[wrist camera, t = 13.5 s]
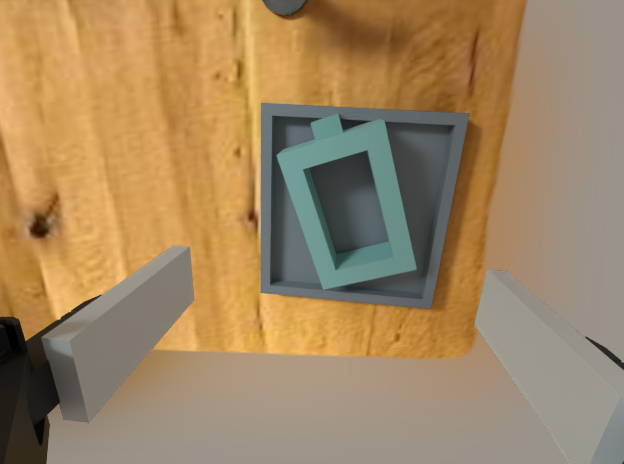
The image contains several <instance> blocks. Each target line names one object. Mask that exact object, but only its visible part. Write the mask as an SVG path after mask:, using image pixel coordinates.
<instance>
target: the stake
mask: <svg viewBox="0 0 624 464" xmlns="http://www.w3.org/2000/svg"><path fill="white" fill-rule="evenodd" d="M262 1H263V2H264V4H265V5H266V7H267V8H268V9H269V10H270V11H271V12H273V13H275V14H277V15H280V16H288V15H292V14H294V13H296V12H298V11H299V10H300V9H301V8H302V7H303V6H304V4H305V3H306V1H307V0H262Z"/></svg>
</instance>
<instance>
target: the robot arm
mask: <svg viewBox="0 0 624 464" xmlns="http://www.w3.org/2000/svg"><path fill="white" fill-rule="evenodd" d="M193 301H194V291H193V279H192V267H191V255H190V247H188V246H175V245H173V246H172V247H171V248H169V249H168V250H166V251H165V252H163V253H162V254H160V255H159V256H158V257H156V258H155V259H153V260H152V261H150V262H149V263H148V264H146V265H145V266H143V267H142V268H140V269H139V270H137V271H136V272H135V273H133V274H132V275H130V276H129V277H127V278H126V279H125V280H123V281H122V282H120V283H119V284H117V285H116V286H114V287H113V288H112V289H110V290H109V291H107V292H106V293H104V294H103V295H99V296H97V297H94V298H92V299H90V300H87V301H85V302H83V303H82V304H80V305H79V306H77V307H76V308H74V309H73V310H71V312H68V313H67V314H65V315H64V316H62V317H61V319H60V320H56V321H55V322H54V323H52V324H51V325H49V326H48V327H46V328H45V329H43V330H42V331H40V332H39V333H37V334H36V335H34V336H33V337H31V338H30V339H28V340H27V341H25V338H24V335H23V332H22V328H21V325H20V321H19V319H17V318H14V317H0V464H46V462H47V450H48V438H49V428H50V424H49V420H48V417H47V414H48V413H49V412H51V410H53V409H54V408H55V407H56V406H57V405H58V404H59V405H60V409H61V412H62V416H63V419H64V420H71V421H80V422H88V423H89V422H90V421H91V420H92V419H93V418H94V416H95V415H96V414H97V413H98V412H99V411H100V409H101V408H102V407H103V406H104V405H105V403H106V402H107V401H108V400H109V399H110V398H111V397H112V395H113V394H114V393H115V392H116V391H117V390H118V388H119V387H120V386H121V385H122V384H123V382H124V381H125V380H126V379H127V378H128V377H129V376H130V374H131V373H132V372H133V371H134V370H135V369H136V367H137V366H138V365H139V364H140V363H141V362H142V360H143V359H144V358H145V357H146V355H147V354H148V353H149V352H150V351H151V350H152V349H153V348H154V346H155V345H156V344H157V343H158V342H159V340H160V339H161V338H162V337H163V336H164V335H165V333H166V332H167V331H168V330H169V329H170V328H171V326H172V325H173V324H174V323H175V322H176V321H177V319H178V318H179V317H180V316H181V315H182V314H183V312H184V311H185V310H186V309H187V308H188V307H189V305H190V304H191V303H192V302H193ZM474 325H475V326H476V328H477V329H478V331H479V332H480V334H481V335H482V337H483V338H484V340H485V341H486V342H487V344H488V345H489V347H490V348H491V350H492V351H493V353H494V354H495V356H496V357H497V358H498V360H499V361H500V363H501V364H502V365H503V367H504V369H505V370H506V372H507V373H508V374H509V375H510V377H511V379H512V380H513V382H514V383H515V384H516V386H517V388H518V389H519V390H520V392H521V393H522V395H523V396H524V397H525V399H526V401H527V402H528V403H529V405H530V406H531V408H532V409H533V411H534V412H535V414H536V415H537V416H538V418H539V419H540V421H541V422H542V424H543V425H544V427H545V428H546V430H547V431H548V432H549V434H550V435H551V437H552V438H553V440H554V441H555V443H556V444H557V446H558V447H559V448H560V450H561V451H562V453H563V454H564V456H565V457H566V459H567V460H568V462H569V463H570V464H624V363H622V362H621V360H620V359H619V358H618V357H616V356H615V355H614V354H613V353H611V352H610V351H609V350H608V349H607V348H605V347H603V346H602V345H600V344H598V343H596V342H595V341H593V340H591V339H589V338H588V337H584V336H583V335H581V334H580V333H579V332H578V331H577V330H575V329H574V328H573V327H572V326H571V325H570V324H568V323H567V322H566V321H565V320H564V319H563V318H561V317H560V316H559V315H558V314H556V312H554V311H553V310H552V309H551V308H550V307H548V306H547V305H546V304H545V303H544V302H543V301H541V300H540V299H539V298H538V297H537V296H535V295H534V294H533V293H532V292H531V291H530V290H528V289H527V288H526V287H525V286H524V285H523V284H521V283H520V282H519V281H518V280H517V279H515V278H514V277H513V276H512V275H511V274H509V273H508V272H507V271H502V270H488V271H487V275H486V279H485V283H484V287H483V291H482V295H481V299H480V303H479V307H478V311H477V315H476V319H475V323H474Z"/></svg>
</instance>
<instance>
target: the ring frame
mask: <svg viewBox="0 0 624 464" xmlns="http://www.w3.org/2000/svg"><path fill="white" fill-rule="evenodd" d="M310 124H311V127H312V130H313V134H314V137H315V139H314V140H311V141H308V142H305V143H302V144H298V145H295V146H292V147H289V148H286V149H283V150H282V151H281V152H280V153H278V154H277V155H276V156H277V159H278V162H279V164H280V167H281V170H282V173H283V176H284V179H285V182H286V185H287V187H288V190H289V193H290V196H291V199H292V202H293V205H294V207H295V210H296V213H297V216H298V219H299V222H300V225H301V227H302V230H303V233H304V236H305V239H306V242H307V245H308V248H309V250H310V253H311V256H312V259H313V262H314V265H315V268H316V270H317V273H318V276H319V279H320V282H321V285H322V288H323V290H324V289H329V288H334V287H338V286H343V285H348V284H352V283H357V282H362V281H366V280H371V279H376V278H380V277H385V276H390V275H394V274H399V273H404V272H408V271H413V270H417V268H416V264H415V259H414V254H413V250H412V245H411V241H410V236H409V231H408V227H407V222H406V218H405V213H404V208H403V204H402V199H401V195H400V190H399V185H398V181H397V176H396V172H395V167H394V162H393V158H392V153H391V148H390V144H389V139H388V135H387V130H386V125H385V121H384V120H382V119H377V120H374V121H371V122H368V123H364V124H361V125H358V126H355V127H352V128H349V129H346V130H343V128H342V124H341V120H340V117H339V113H337V114H334V115H331V116H328V117H325V118H322V119H319V120H316V121H313V122H311V123H310ZM363 151H367V155H368V159H369V163H370V167H371V171H372V175H373V179H374V184H375V188H376V192H377V196H378V200H379V204H380V208H381V212H382V216H383V220H384V224H385V228H386V233H387V237H388V241H389V242H385V243H381V244H376V245H372V246H368V247H364V248H360V249H355V250H351V251H347V252H343V253H338V254H336V251H335V248H334V245H333V242H332V238H331V235H330V232H329V229H328V226H327V223H326V219H325V216H324V213H323V210H322V207H321V204H320V200H319V197H318V194H317V191H316V188H315V185H314V181H313V178H312V175H311V172H310V169H309V167H313V166H316V165H319V164H323V163H326V162H329V161H333V160H336V159H339V158H343V157H346V156H349V155H353V154H356V153H359V152H363Z"/></svg>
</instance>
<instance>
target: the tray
mask: <svg viewBox="0 0 624 464" xmlns="http://www.w3.org/2000/svg"><path fill="white" fill-rule="evenodd" d="M337 113H339V117H340V120H341V124H342V128H343V130H346V129H349V128H352V127H355V126H358V125H361V124H364V123H368V122H371V121H374V120H377V119H382V120H384V121H385V125H386V130H387V135H388V139H389V144H390V148H391V153H392V158H393V162H394V167H395V172H396V176H397V181H398V185H399V190H400V195H401V199H402V204H403V208H404V213H405V218H406V222H407V227H408V231H409V236H410V241H411V245H412V250H413V254H414V259H415V264H416V268H417V270H413V271H408V272H404V273H399V274H394V275H390V276H385V277H380V278H376V279H371V280H366V281H362V282H357V283H352V284H348V285H343V286H338V287H334V288H329V289H324V290H323V288H322V285H321V282H320V279H319V276H318V273H317V270H316V268H315V265H314V262H313V259H312V256H311V253H310V250H309V248H308V245H307V242H306V239H305V236H304V233H303V230H302V227H301V225H300V222H299V219H298V216H297V213H296V210H295V207H294V205H293V202H292V199H291V196H290V193H289V190H288V187H287V185H286V182H285V179H284V176H283V173H282V170H281V167H280V164H279V162H278V159H277V156H276V155H277V154H278V153H280V152H281V151H282V150H283V149H286V148H289V147H292V146H295V145H298V144H302V143H305V142H308V141H311V140H314V139H315V137H314V134H313V130H312V127H311V124H310V123H311V122H313V121H316V120H319V119H322V118H325V117H328V116H331V115H334V114H337ZM468 119H469V113H449V112H430V111H410V110H390V109H370V108H351V107H331V106H311V105H291V104H272V103H261V293H268V294H278V295H289V296H300V297H310V298H321V299H331V300H342V301H353V302H363V303H374V304H384V305H395V306H406V307H416V308H427V309H431V307H432V302H433V297H434V292H435V287H436V282H437V277H438V271H439V266H440V261H441V256H442V251H443V246H444V241H445V236H446V231H447V226H448V221H449V216H450V211H451V206H452V200H453V195H454V190H455V185H456V180H457V175H458V170H459V165H460V160H461V155H462V150H463V145H464V140H465V135H466V129H467V124H468ZM309 169H310V172H311V175H312V178H313V181H314V185H315V188H316V191H317V194H318V197H319V200H320V204H321V207H322V210H323V213H324V216H325V219H326V223H327V226H328V229H329V232H330V235H331V238H332V242H333V245H334V248H335V251H336V254H338V253H343V252H347V251H351V250H355V249H360V248H364V247H368V246H372V245H376V244H381V243H385V242H389V241H388V237H387V233H386V228H385V224H384V220H383V216H382V212H381V208H380V204H379V200H378V196H377V192H376V188H375V184H374V179H373V175H372V171H371V167H370V163H369V159H368V155H367V151H363V152H359V153H356V154H353V155H349V156H346V157H343V158H339V159H336V160H333V161H329V162H326V163H323V164H319V165H316V166H313V167H309Z"/></svg>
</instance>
